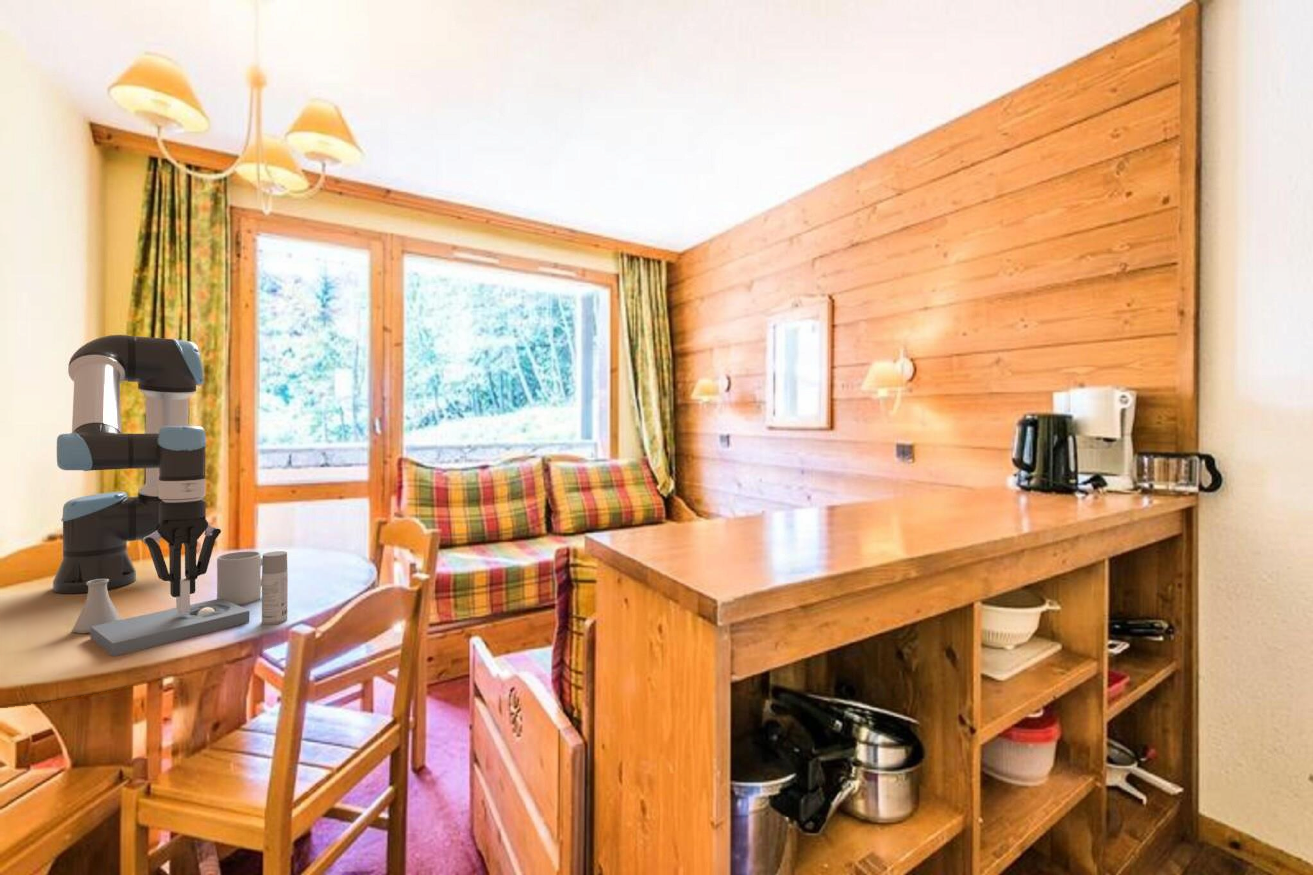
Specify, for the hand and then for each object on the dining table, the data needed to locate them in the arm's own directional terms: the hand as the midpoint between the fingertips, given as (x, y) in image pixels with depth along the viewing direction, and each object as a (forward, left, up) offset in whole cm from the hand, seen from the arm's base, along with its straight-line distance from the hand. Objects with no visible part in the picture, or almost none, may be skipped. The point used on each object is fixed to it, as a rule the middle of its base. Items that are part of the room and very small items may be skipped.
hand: (183, 610), depth 118 cm
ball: (0, +4, -2) cm, 5 cm away
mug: (-11, +16, -4) cm, 20 cm away
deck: (0, -2, -4) cm, 4 cm away
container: (+10, +13, -4) cm, 17 cm away
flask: (-14, -10, -4) cm, 17 cm away
